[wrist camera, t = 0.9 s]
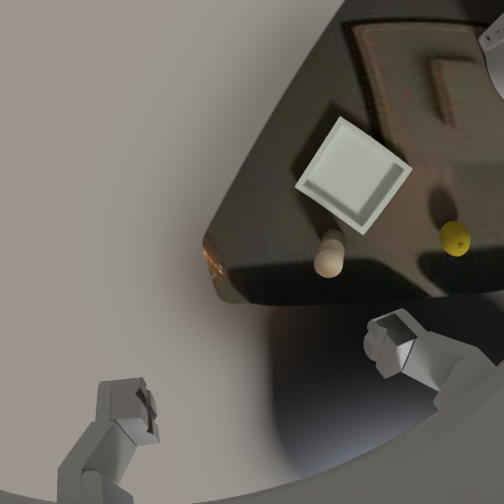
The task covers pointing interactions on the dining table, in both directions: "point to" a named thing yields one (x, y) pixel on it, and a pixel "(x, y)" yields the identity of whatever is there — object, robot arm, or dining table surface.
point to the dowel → (330, 254)
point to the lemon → (455, 238)
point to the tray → (353, 176)
